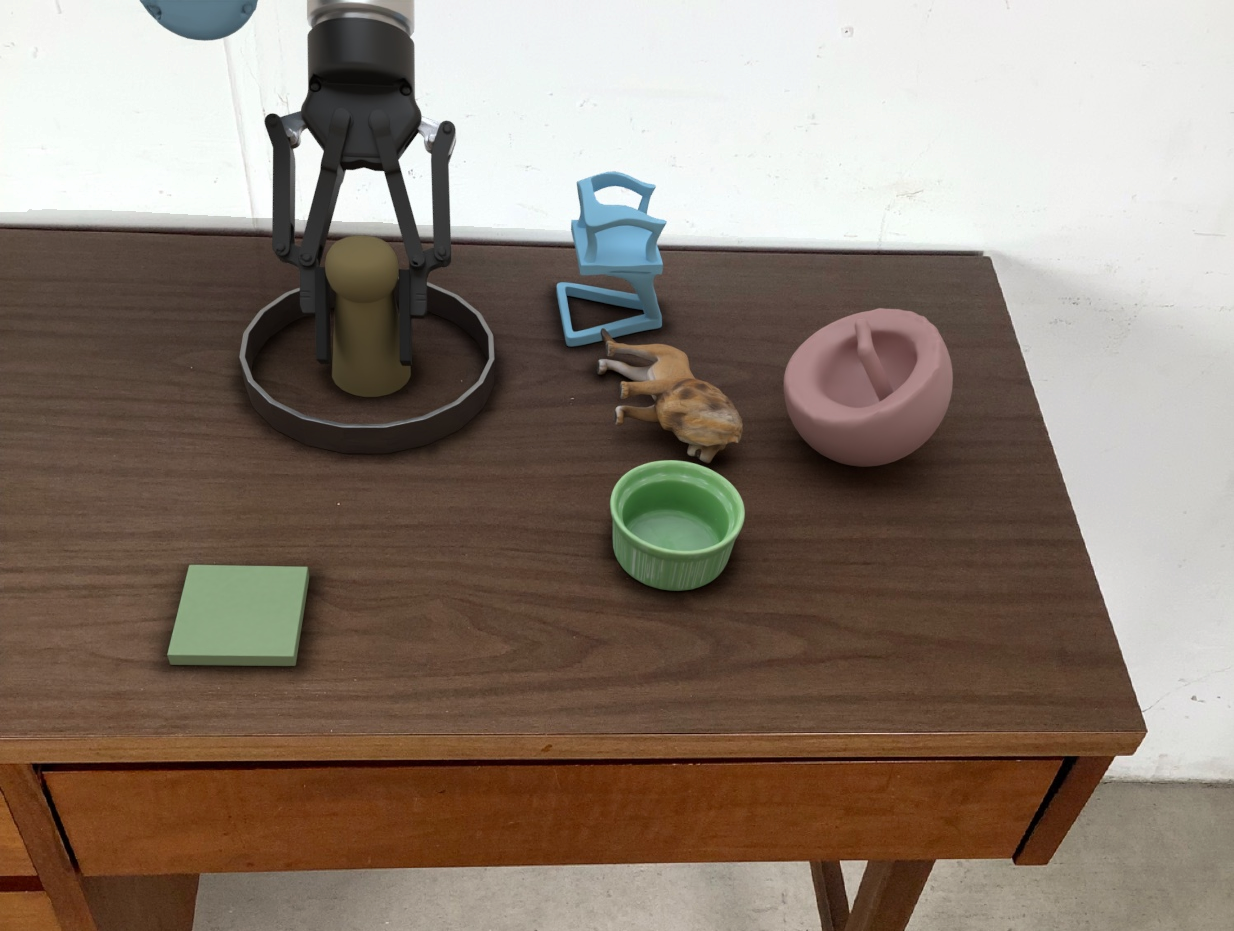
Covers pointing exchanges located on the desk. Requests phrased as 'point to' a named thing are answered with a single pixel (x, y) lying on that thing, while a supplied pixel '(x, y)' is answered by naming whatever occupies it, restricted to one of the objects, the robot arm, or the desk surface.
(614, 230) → the chair
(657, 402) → the lion figurine
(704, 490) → the ramekin
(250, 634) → the green mat
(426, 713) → the desk surface
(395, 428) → the ring
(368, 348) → the olive pawn
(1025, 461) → the desk surface
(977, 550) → the desk surface
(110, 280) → the desk surface
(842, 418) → the mortar and pestle
